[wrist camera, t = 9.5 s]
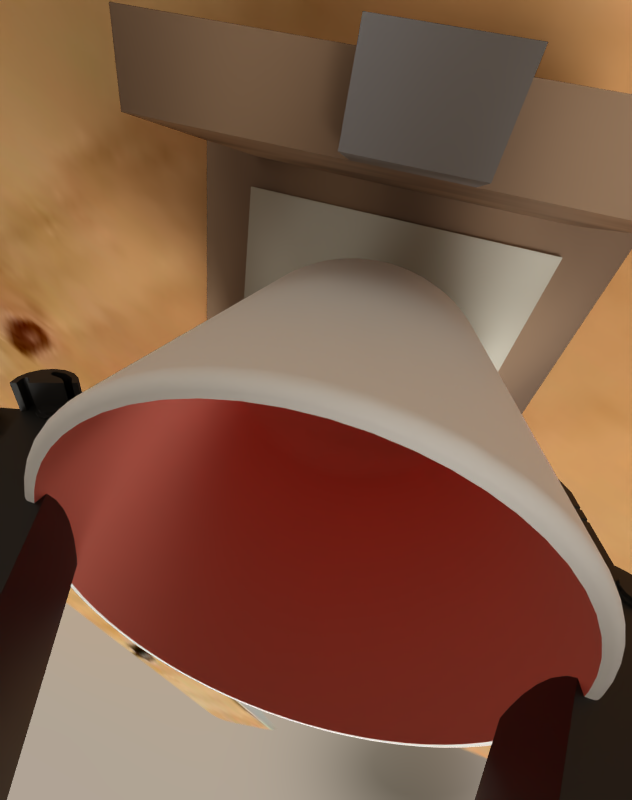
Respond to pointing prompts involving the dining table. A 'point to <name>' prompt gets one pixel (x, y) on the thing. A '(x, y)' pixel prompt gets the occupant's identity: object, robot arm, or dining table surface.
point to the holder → (398, 165)
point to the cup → (333, 514)
